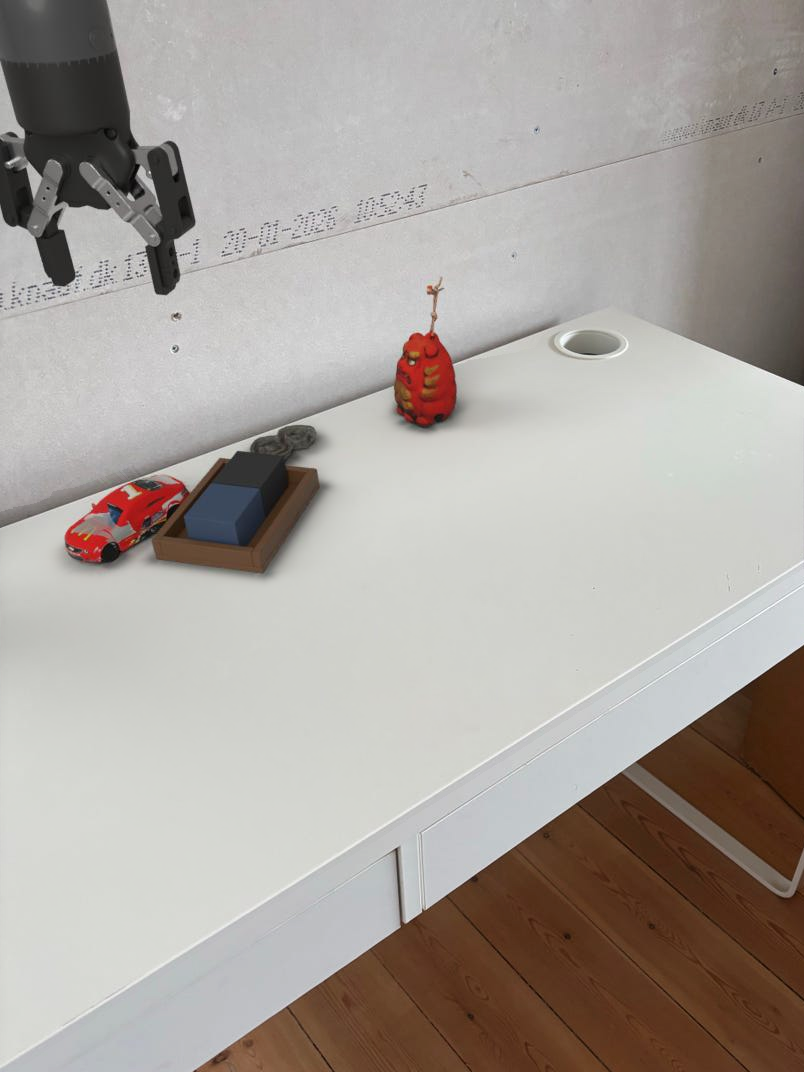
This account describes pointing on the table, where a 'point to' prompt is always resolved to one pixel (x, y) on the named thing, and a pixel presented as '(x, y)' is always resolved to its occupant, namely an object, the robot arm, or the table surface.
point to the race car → (124, 518)
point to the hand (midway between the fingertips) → (115, 287)
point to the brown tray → (264, 543)
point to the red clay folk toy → (425, 376)
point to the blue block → (226, 515)
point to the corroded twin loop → (285, 440)
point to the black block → (257, 475)
